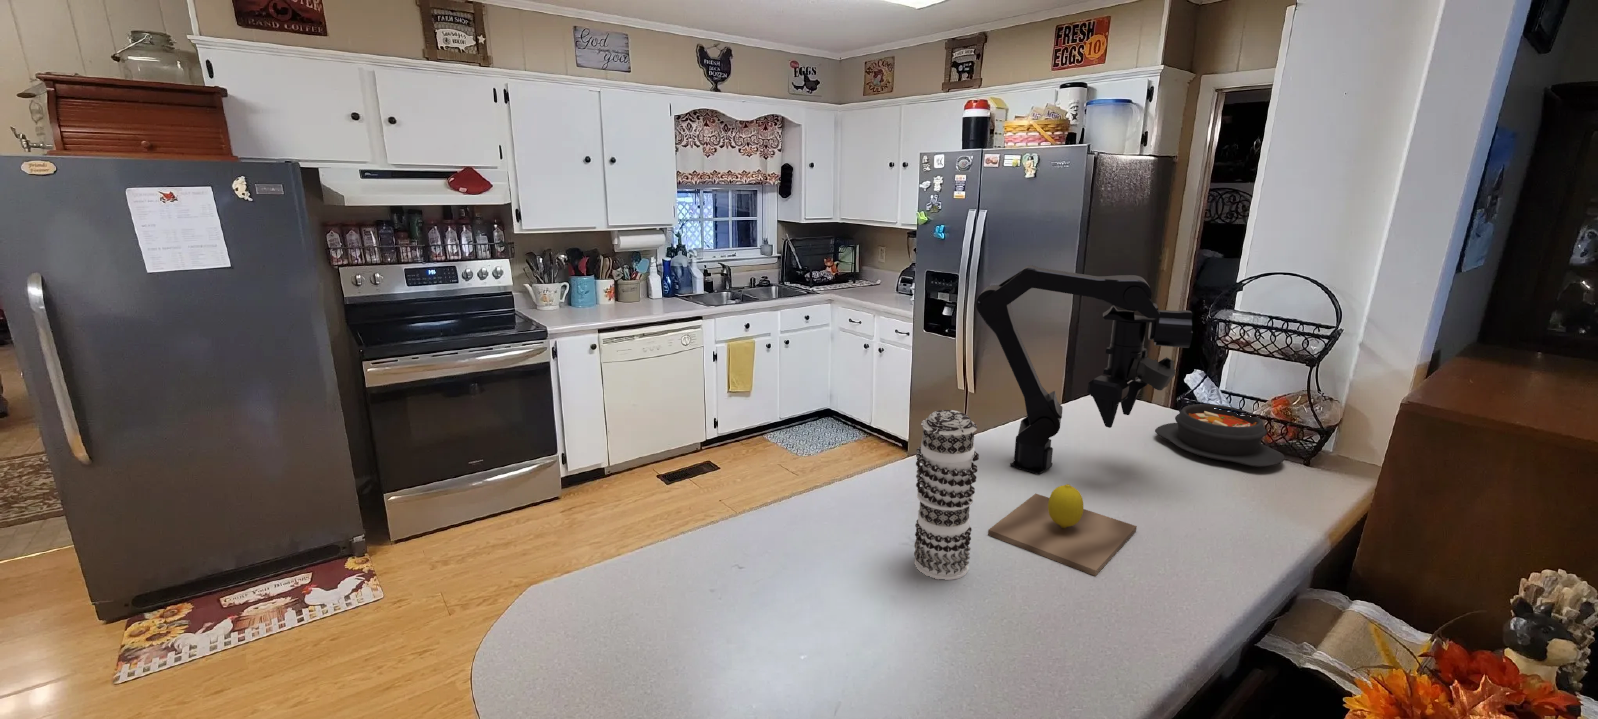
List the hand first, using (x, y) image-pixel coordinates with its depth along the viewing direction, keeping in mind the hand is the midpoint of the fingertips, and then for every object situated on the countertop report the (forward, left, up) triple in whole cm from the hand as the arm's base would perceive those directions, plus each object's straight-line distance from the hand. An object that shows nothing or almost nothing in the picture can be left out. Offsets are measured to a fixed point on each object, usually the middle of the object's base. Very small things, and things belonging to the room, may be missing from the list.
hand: (1117, 420), depth 134 cm
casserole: (+12, +28, -12) cm, 33 cm away
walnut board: (+2, -28, -12) cm, 30 cm away
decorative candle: (-8, -50, -12) cm, 52 cm away
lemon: (+2, -28, -11) cm, 30 cm away
